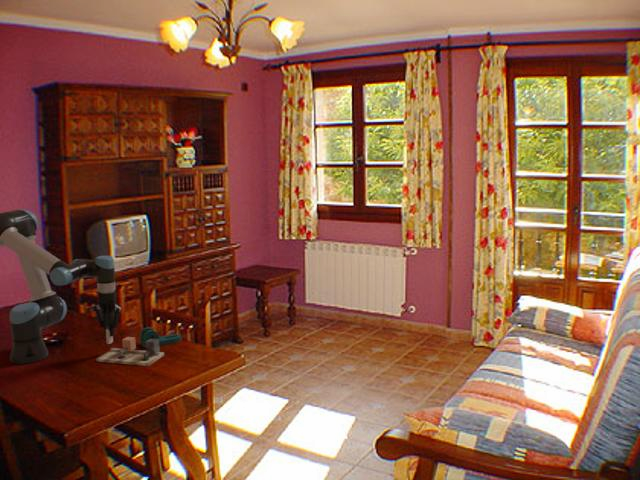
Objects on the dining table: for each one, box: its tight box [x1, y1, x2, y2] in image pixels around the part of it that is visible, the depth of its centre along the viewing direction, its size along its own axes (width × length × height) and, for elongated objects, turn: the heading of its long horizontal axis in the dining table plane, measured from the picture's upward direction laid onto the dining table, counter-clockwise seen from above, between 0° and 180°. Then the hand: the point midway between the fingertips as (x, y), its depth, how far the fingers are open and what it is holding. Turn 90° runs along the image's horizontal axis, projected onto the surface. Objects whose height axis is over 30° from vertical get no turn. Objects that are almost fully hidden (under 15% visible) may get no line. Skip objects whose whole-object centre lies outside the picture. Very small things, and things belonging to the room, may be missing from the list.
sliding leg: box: [119, 336, 137, 357], centre depth 261 cm, size 4×9×6 cm, turn 165°
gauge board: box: [96, 339, 165, 367], centre depth 259 cm, size 25×13×8 cm, turn 75°
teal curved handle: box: [139, 326, 182, 349], centre depth 278 cm, size 18×7×8 cm, turn 121°
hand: (110, 342), depth 266 cm, fingers closed
